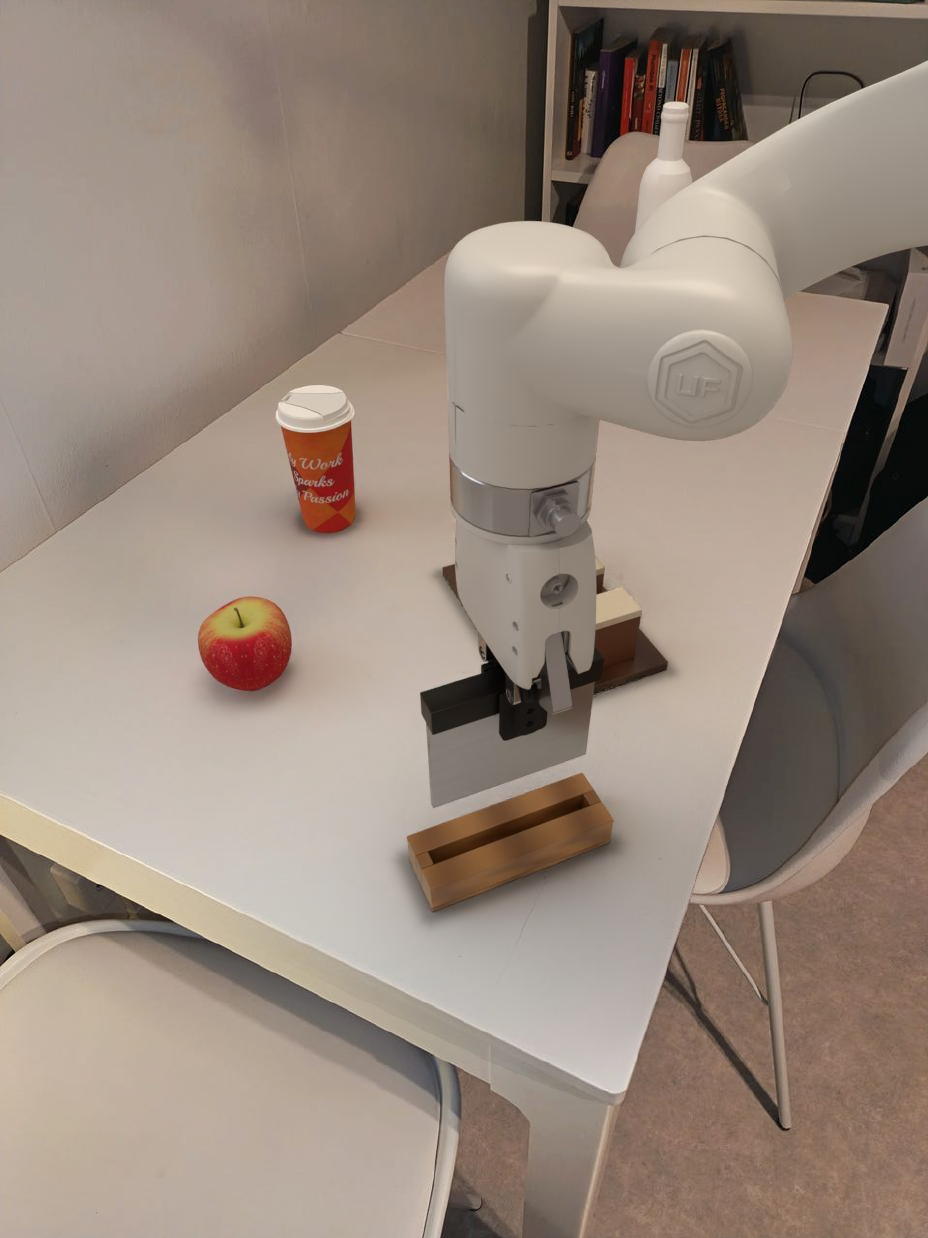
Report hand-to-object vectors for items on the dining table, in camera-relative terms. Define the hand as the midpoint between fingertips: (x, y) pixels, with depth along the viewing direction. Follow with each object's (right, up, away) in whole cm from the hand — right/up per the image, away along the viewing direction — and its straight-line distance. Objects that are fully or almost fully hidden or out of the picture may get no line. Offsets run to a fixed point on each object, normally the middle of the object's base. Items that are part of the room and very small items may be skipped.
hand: (513, 715), depth 58 cm
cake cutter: (0, -5, +4) cm, 7 cm away
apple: (-23, +1, +25) cm, 34 cm away
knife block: (0, -12, +10) cm, 16 cm away
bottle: (+27, +57, +87) cm, 107 cm away
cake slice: (+8, +3, +25) cm, 26 cm away
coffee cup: (-19, +18, +44) cm, 51 cm away
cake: (+5, +7, +31) cm, 32 cm away
